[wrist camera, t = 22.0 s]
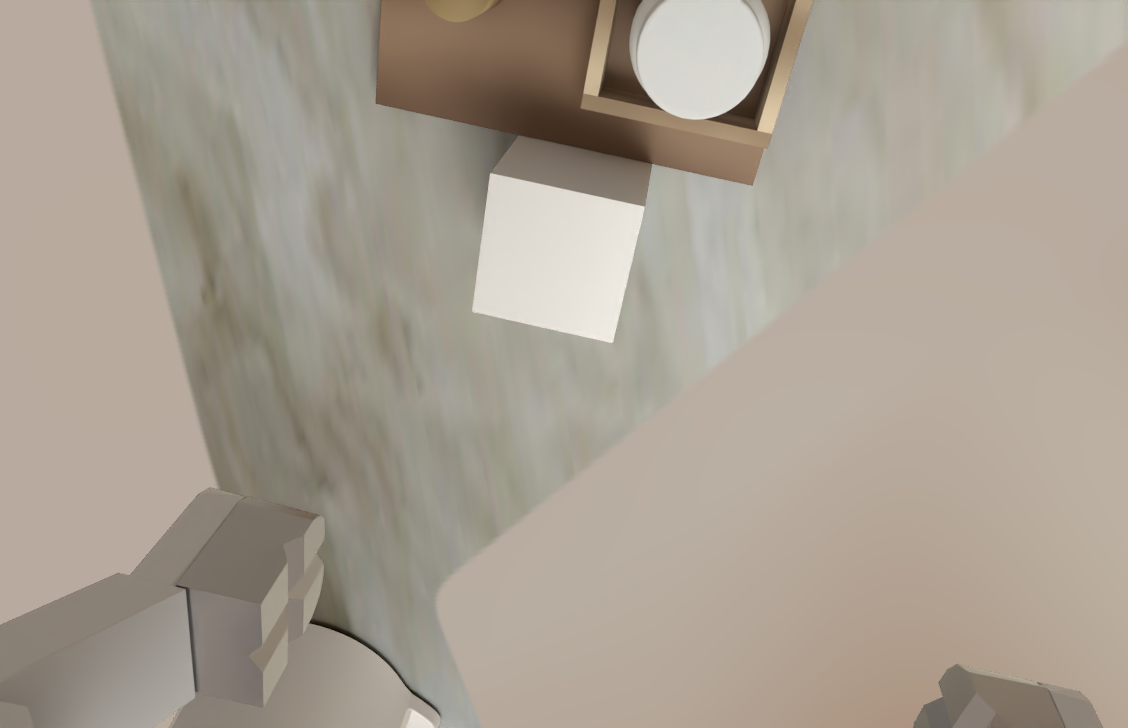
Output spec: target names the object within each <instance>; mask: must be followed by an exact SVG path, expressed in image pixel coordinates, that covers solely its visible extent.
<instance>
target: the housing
mask: <svg viewBox="0 0 1128 728" xmlns="http://www.w3.org/2000/svg"><path fill="white" fill-rule="evenodd" d="M651 167H652V164H651V163H646V162H642V161H637V160H632V159H628V158H623V157H619V156H614V155H609V154H605V153H600V152H596V151H591V150H586V149H582V148H577V147H573V146H568V145H564V144H559V143H554V142H550V141H545V140H541V139H536V138H531V137H527V136H522V135H519V136H518V137H517V138H516V140H515V141H514V142H513V144H512V145H511V146H510V148H509V149H508V150H507V152H506V153H505V154H504V155H503V157H502V158H501V159H500V161H499V162H498V163H497V165H496V166H495V167H494V169H493V170H492V171H491V173H490V178H489V186H488V193H487V201H486V209H485V216H484V224H483V232H482V239H481V247H480V255H479V262H478V270H477V278H476V285H475V293H474V301H473V308H472V312H475V313H480V314H484V315H489V316H493V317H498V318H502V319H507V320H511V321H516V322H520V323H525V324H529V325H534V326H538V327H543V328H547V329H552V330H556V331H560V332H565V333H569V334H574V335H578V336H583V337H587V338H592V339H596V340H601V341H605V342H610V343H613V340H614V335H615V331H616V327H617V323H618V319H619V314H620V310H621V306H622V302H623V297H624V293H625V289H626V285H627V281H628V276H629V272H630V268H631V264H632V259H633V255H634V251H635V247H636V242H637V238H638V234H639V230H640V226H641V221H642V217H643V213H644V209H645V203H646V197H647V191H648V185H649V179H650V173H651Z"/></svg>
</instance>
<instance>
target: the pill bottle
mask: <svg viewBox="0 0 1128 728" xmlns="http://www.w3.org/2000/svg"><path fill="white" fill-rule="evenodd" d="M769 46H770V22H769V19H768V15H767V12H766V10H765V8H764V5H763V3H762V1H761V0H642V1H641V3H640V4H639V6H638V8H637V10H636V13H635V15H634V18H633V22H632V27H631V31H630V39H629V50H630V57H631V62H632V66H633V69H634V72H635V74H636V77H637V79H638V81H639V82H640V84H641V86H642V87H643V89H644V90H645V91H646V92H647V94H648V95H649V97H650V98H651V99H652V100H653V101H654V102H655V104H657V105H658V106H659V107H660V108H662V109H663V110H665V111H666V112H668V113H670V114H672V115H675V116H677V117H680V118H684V119H692V120H699V119H707V118H712V117H715V116H718V115H721V114H723V113H725V112H727V111H729V110H731V109H732V108H733V107H735V106H736V105H737V104H739V103H740V102H741V101H742V100H743V99H744V98H745V97H746V96H747V94H748V93H749V92H750V90H751V89H752V88H753V86H754V84H755V83H756V81H757V79H758V77H759V76H760V74H761V72H762V70H763V68H764V65H765V62H766V59H767V56H768V51H769Z"/></svg>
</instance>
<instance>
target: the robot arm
mask: <svg viewBox="0 0 1128 728" xmlns="http://www.w3.org/2000/svg"><path fill="white" fill-rule="evenodd" d="M324 539H325V519H324V518H323V517H321V516H320V515H317V514H313V513H309V512H305V511H302V510H298V509H294V508H290V507H286V506H282V505H279V504H275V503H271V502H267V501H263V500H259V499H256V498H252V497H245V496H241V495H237V494H233V493H229V492H226V491H222V490H218V489H214V488H208V489H207V490H205V491H203V492H201V493H200V494H198V495H197V496H196V498H195V499H194V500H193V501H192V502H191V503H190V505H189V506H188V507H187V508H186V509H185V511H184V512H183V513H182V514H181V515H180V516H179V518H178V519H177V520H176V521H175V522H174V524H173V525H172V526H171V527H170V528H169V530H168V531H167V532H166V533H165V534H164V535H163V537H162V538H161V539H160V540H159V542H158V543H157V544H156V545H155V546H154V547H153V549H152V550H151V551H150V552H149V553H148V554H147V556H146V557H145V558H144V559H143V560H142V562H141V563H140V564H139V565H138V566H137V567H136V569H135V570H134V571H133V572H132V573H131V575H125V574H120V573H117V574H115V575H113V576H110V577H108V578H106V579H103V580H101V581H99V582H96V583H94V584H92V585H90V586H88V587H85V588H83V589H81V590H78V591H76V592H74V593H72V594H70V595H67V596H65V597H62V598H60V599H58V600H56V601H53V602H51V603H49V604H47V605H44V606H42V607H40V608H37V609H35V610H33V611H31V612H28V613H26V614H24V615H22V616H20V617H17V618H15V619H12V620H10V621H8V622H6V623H3V624H1V625H0V728H153V727H154V726H155V725H157V724H159V723H160V722H162V721H163V720H164V719H165V718H167V717H168V716H170V715H171V714H173V713H174V712H176V711H177V710H178V712H177V714H176V716H175V717H174V719H173V721H172V723H171V725H170V727H169V728H438V726H439V724H440V716H439V715H438V713H437V712H436V711H435V710H434V709H433V708H431V707H430V706H429V705H428V704H426V703H425V702H423V701H422V700H421V699H419V698H418V697H416V696H415V695H413V694H412V693H411V692H410V691H409V690H408V689H407V688H406V686H405V685H404V684H403V682H402V681H401V680H400V678H399V677H398V675H397V674H396V673H395V672H394V670H393V669H392V668H391V667H390V666H389V665H388V664H387V663H386V662H385V661H384V660H383V659H382V658H380V657H379V656H378V655H377V654H376V653H374V652H373V651H372V650H370V649H369V648H367V647H366V646H364V645H362V644H361V643H359V642H357V641H356V640H354V639H352V638H350V637H348V636H346V635H343V634H341V633H339V632H336V631H334V630H331V629H328V628H325V627H321V626H318V625H313V624H309V622H310V620H311V618H312V616H313V613H314V610H315V607H316V605H317V602H318V599H319V596H320V592H321V587H322V581H323V572H324V563H323V562H322V560H321V559H320V557H319V556H318V555H317V551H318V549H319V547H320V546H321V544H322V542H323V540H324ZM939 686H940V689H941V692H942V696H943V697H941V698H939V699H937V700H935V701H932V702H930V703H928V704H926V705H924V706H923V708H922V710H921V711H920V713H919V715H918V717H917V719H916V721H915V722H914V726H913V728H1103V726H1102V724H1101V722H1100V720H1099V718H1098V716H1097V714H1096V712H1095V710H1094V708H1093V706H1092V704H1091V702H1090V701H1089V700H1088V698H1087V697H1085V696H1084V695H1083V694H1082V693H1081V692H1080V691H1076V690H1072V689H1067V688H1063V687H1058V686H1053V685H1049V684H1044V683H1040V682H1037V683H1035V682H1033V681H1031V680H1027V679H1022V678H1018V677H1013V676H1009V675H1004V674H1000V673H995V672H991V671H986V670H982V669H978V668H973V667H969V666H964V665H960V664H956V665H954V666H952V667H951V668H949V669H947V671H946V672H945V674H944V675H943V677H942V678H941V680H940V681H939Z"/></svg>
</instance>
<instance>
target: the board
mask: <svg viewBox="0 0 1128 728" xmlns="http://www.w3.org/2000/svg"><path fill="white" fill-rule="evenodd" d="M641 1H642V0H381V17H380V35H379V53H378V71H377V89H376V104H380V105H384V106H389V107H394V108H398V109H403V110H407V111H412V112H417V113H421V114H426V115H430V116H435V117H439V118H444V119H449V120H453V121H458V122H462V123H467V124H472V125H476V126H481V127H485V128H490V129H495V130H499V131H504V132H508V133H513V134H518V135H522V136H527V137H531V138H536V139H541V140H545V141H550V142H554V143H559V144H564V145H568V146H573V147H577V148H582V149H586V150H591V151H596V152H600V153H605V154H609V155H614V156H619V157H623V158H628V159H632V160H637V161H642V162H646V163H651V164H655V165H660V166H665V167H669V168H674V169H678V170H683V171H688V172H692V173H697V174H701V175H706V176H711V177H715V178H720V179H724V180H729V181H733V182H738V183H743V184H747V185H752V186H753V182H754V179H755V176H756V172H757V169H758V166H759V163H760V159H761V156H762V153H763V150H764V148H766V149H768V145H769V142H770V139H771V136H772V132H773V129H774V126H775V123H776V119H777V116H778V113H779V110H780V107H781V103H782V100H783V97H784V94H785V90H786V87H787V84H788V81H789V77H790V74H791V71H792V68H793V64H794V61H795V58H796V55H797V51H798V48H799V45H800V42H801V38H802V35H803V32H804V29H805V26H806V22H807V19H808V16H809V13H810V9H811V6H812V3H813V0H761V1H762V3H763V5H764V8H765V10H766V12H767V15H768V19H769V22H770V46H769V51H768V56H767V59H766V62H765V65H764V68H763V70H762V72H761V74H760V76H759V77H758V79H757V81H756V83H755V84H754V86H753V88H752V89H751V90H750V92H749V93H748V94H747V96H746V97H745V98H744V99H743V100H742V101H741V102H740V103H739V104H737V105H736V106H735V107H733V108H732V109H731V110H729V111H727V112H725V113H723V114H721V115H718V116H715V117H712V118H707V119H699V120H692V119H684V118H680V117H677V116H675V115H672V114H670V113H668V112H666V111H665V110H663V109H662V108H660V107H659V106H658V105H657V104H655V102H654V101H653V100H652V99H651V98H650V97H649V95H648V94H647V92H646V91H645V90H644V89H643V87H642V86H641V84H640V82H639V81H638V79H637V77H636V74H635V72H634V69H633V66H632V62H631V57H630V50H629V39H630V31H631V27H632V22H633V18H634V15H635V13H636V10H637V8H638V6H639V4H640V3H641Z"/></svg>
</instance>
